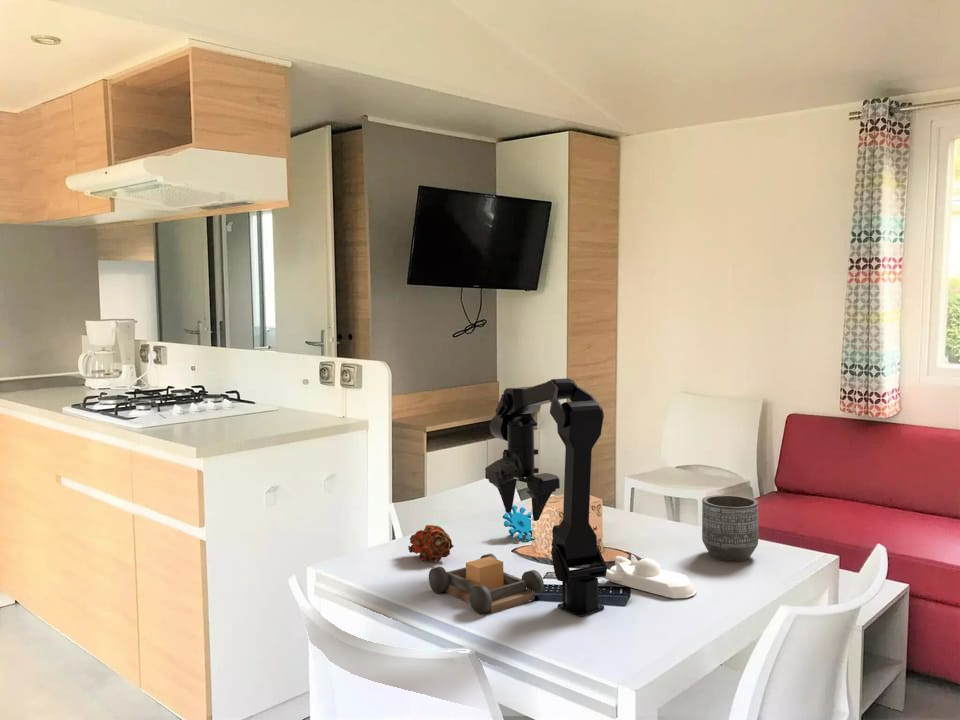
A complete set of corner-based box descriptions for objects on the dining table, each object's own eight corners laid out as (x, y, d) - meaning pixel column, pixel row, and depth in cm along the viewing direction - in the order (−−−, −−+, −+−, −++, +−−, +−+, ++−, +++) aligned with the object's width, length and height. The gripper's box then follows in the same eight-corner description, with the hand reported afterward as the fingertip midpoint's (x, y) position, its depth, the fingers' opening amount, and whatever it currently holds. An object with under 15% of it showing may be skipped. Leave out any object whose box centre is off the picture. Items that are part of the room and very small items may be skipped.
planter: (770, 559, 180) (770, 503, 179) (728, 568, 175) (728, 509, 174) (731, 545, 191) (731, 492, 190) (690, 552, 186) (690, 498, 185)
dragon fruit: (450, 572, 180) (413, 569, 188) (467, 543, 186) (431, 541, 193) (430, 547, 177) (393, 545, 185) (448, 517, 182) (412, 517, 190)
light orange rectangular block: (503, 586, 162) (503, 561, 162) (479, 593, 158) (479, 568, 158) (489, 580, 165) (489, 556, 165) (466, 587, 162) (465, 562, 162)
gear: (513, 539, 194) (499, 504, 200) (502, 552, 197) (488, 517, 203) (549, 537, 200) (535, 503, 206) (537, 550, 203) (523, 516, 209)
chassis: (544, 598, 159) (543, 573, 159) (485, 616, 150) (485, 590, 150) (485, 574, 174) (484, 551, 174) (428, 589, 165) (428, 565, 165)
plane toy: (681, 606, 154) (681, 576, 154) (593, 583, 168) (592, 556, 167) (705, 591, 162) (705, 562, 162) (620, 570, 175) (619, 544, 175)
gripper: (465, 444, 177) (466, 514, 178) (520, 455, 162) (521, 532, 163) (504, 438, 183) (506, 506, 184) (561, 448, 168) (562, 522, 169)
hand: (522, 516), depth 175 cm, fingers open, 9 cm apart
